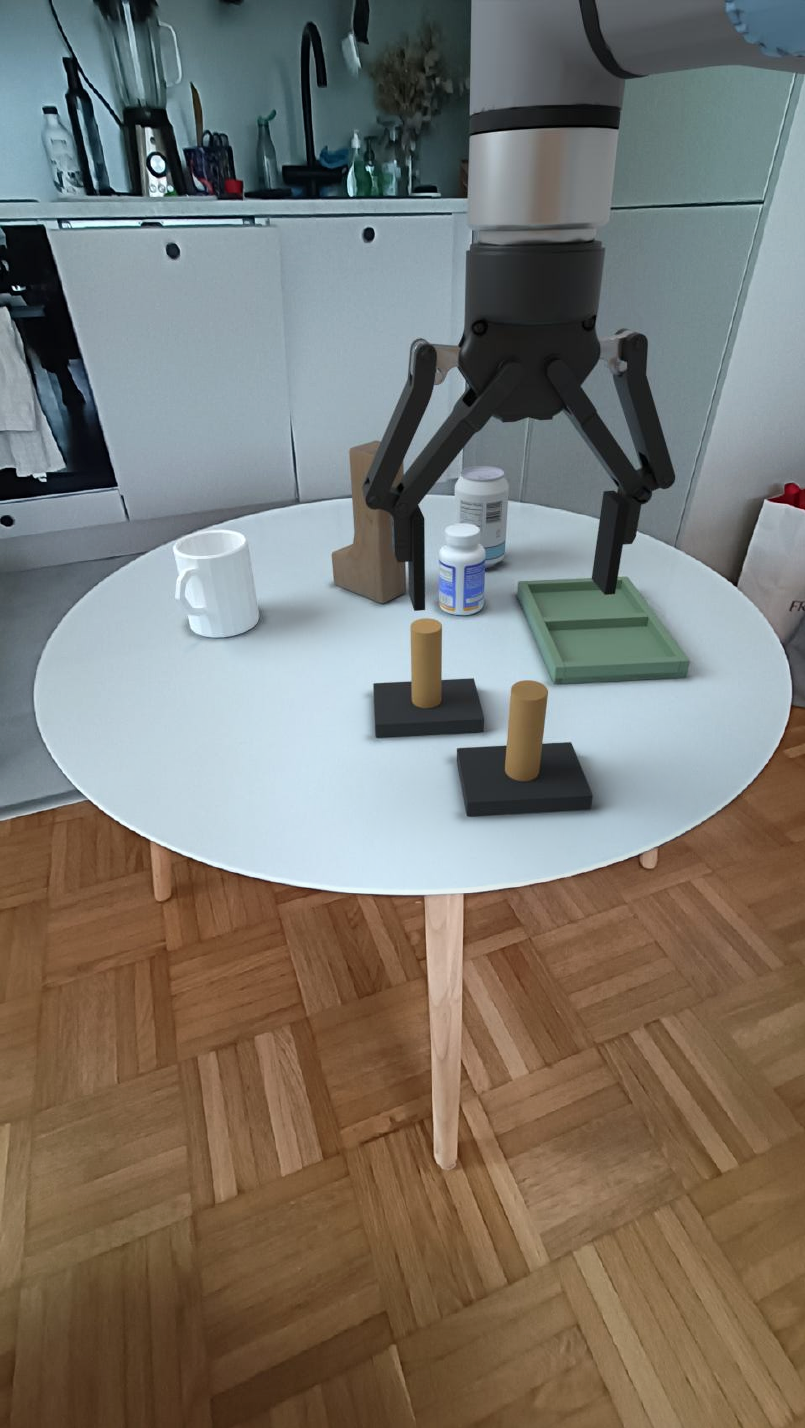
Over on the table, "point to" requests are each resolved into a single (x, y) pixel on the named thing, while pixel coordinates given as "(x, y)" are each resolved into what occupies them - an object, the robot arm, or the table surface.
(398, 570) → the wooden block
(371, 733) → the table surface
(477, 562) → the pill bottle
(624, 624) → the pad holder
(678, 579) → the table surface
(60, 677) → the table surface
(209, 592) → the mug
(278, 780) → the table surface
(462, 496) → the beverage can
